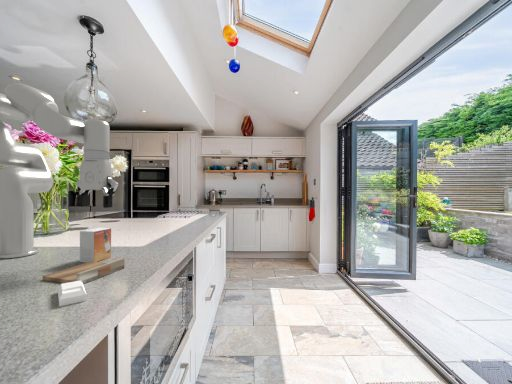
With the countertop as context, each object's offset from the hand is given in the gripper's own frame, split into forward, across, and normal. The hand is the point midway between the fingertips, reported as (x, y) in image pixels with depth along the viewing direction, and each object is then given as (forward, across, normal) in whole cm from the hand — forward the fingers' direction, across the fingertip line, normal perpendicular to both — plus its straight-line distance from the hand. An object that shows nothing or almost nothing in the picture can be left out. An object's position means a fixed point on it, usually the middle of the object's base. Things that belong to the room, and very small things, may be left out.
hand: (96, 206), depth 89 cm
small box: (+18, 0, 0) cm, 19 cm away
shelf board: (+18, +9, -12) cm, 24 cm away
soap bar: (+19, +20, -25) cm, 37 cm away
